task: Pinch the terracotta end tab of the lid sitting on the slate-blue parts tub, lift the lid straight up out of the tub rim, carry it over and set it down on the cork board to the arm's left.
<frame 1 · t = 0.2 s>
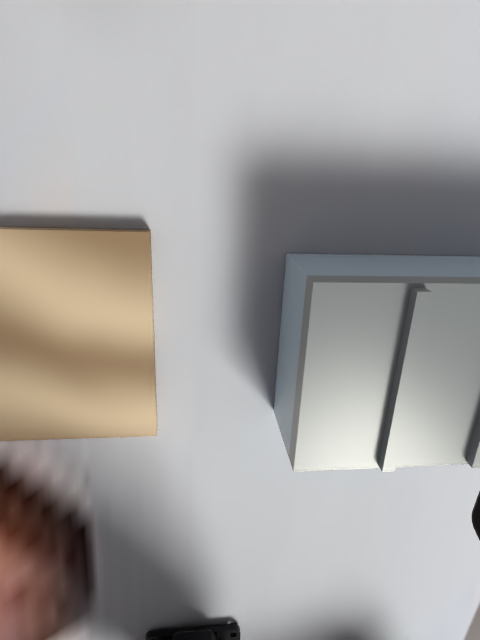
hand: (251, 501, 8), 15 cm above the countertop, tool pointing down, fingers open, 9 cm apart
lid: (424, 361, 21), point 3 cm above the countertop, touching tub
tub: (397, 336, 24), on the countertop
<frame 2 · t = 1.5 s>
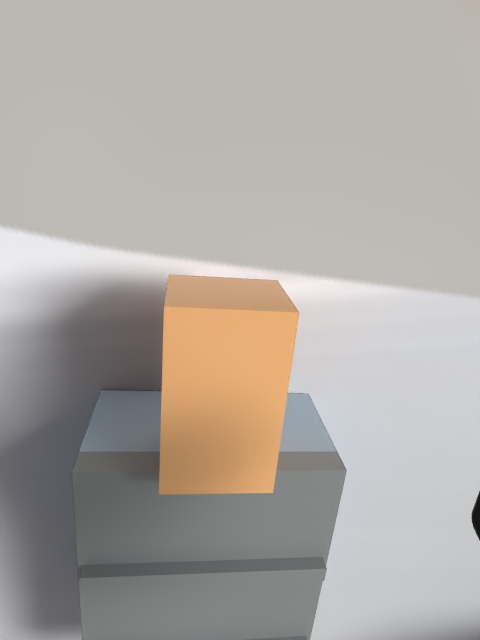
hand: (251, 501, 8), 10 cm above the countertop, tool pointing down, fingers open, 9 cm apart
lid: (202, 562, 18), point 3 cm above the countertop, touching tub
tub: (200, 508, 21), on the countertop
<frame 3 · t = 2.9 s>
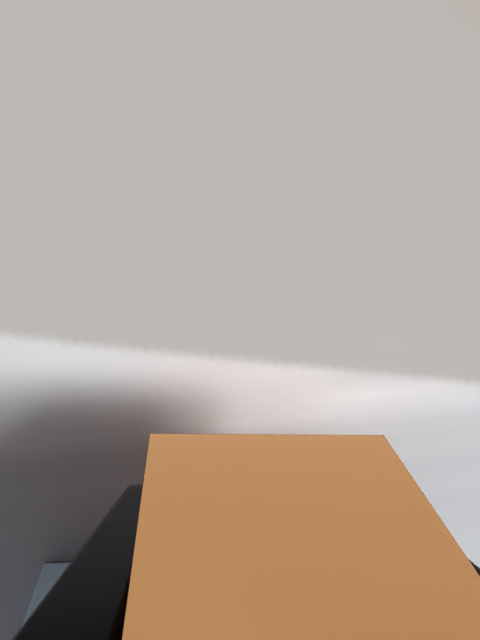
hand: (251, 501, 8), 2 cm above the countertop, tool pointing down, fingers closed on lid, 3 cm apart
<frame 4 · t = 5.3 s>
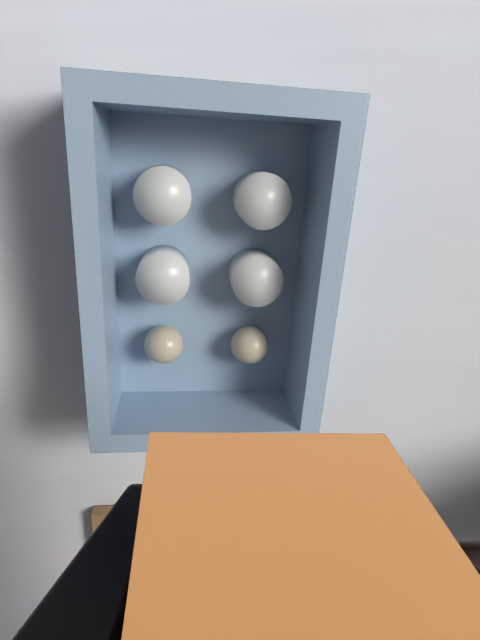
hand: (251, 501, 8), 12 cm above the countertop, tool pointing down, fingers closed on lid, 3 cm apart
tub: (207, 265, 19), on the countertop
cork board: (195, 599, 26), on the countertop
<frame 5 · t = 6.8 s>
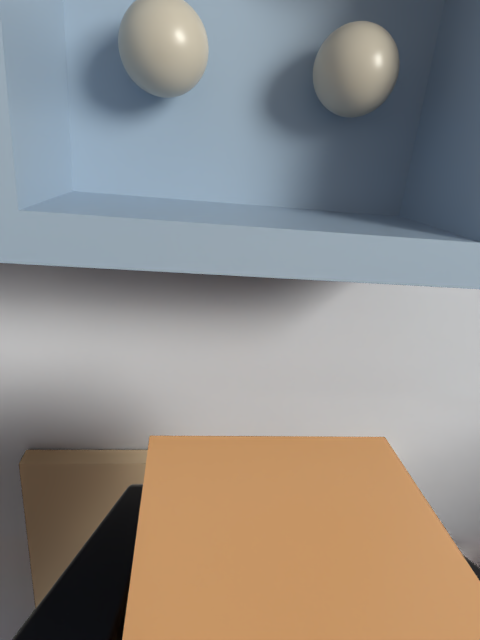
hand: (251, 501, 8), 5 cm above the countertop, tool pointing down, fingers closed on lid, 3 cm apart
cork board: (204, 620, 16), on the countertop
when the fingers open (1 cm above the countertop, at t = 7.8 s): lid drops 1 cm, resting on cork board.
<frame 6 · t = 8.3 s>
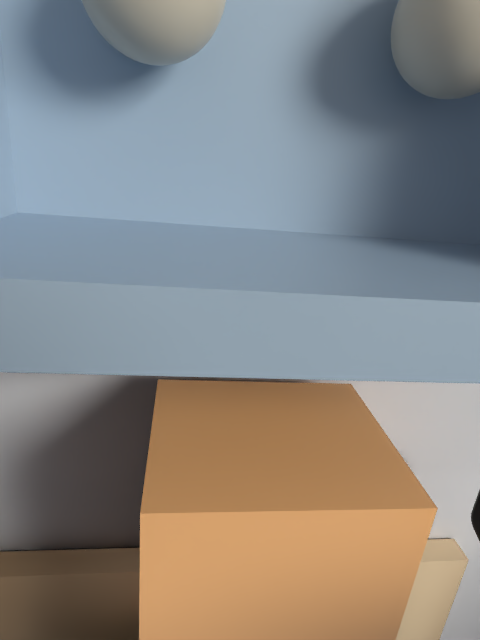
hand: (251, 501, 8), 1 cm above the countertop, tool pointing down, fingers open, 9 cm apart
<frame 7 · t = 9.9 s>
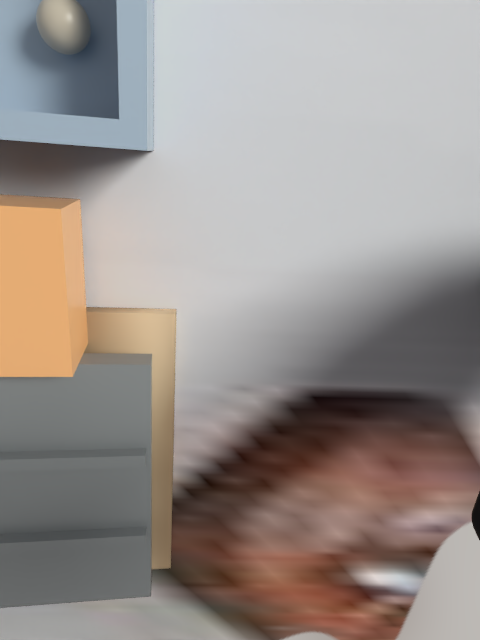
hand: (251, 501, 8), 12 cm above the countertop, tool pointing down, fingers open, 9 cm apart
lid: (56, 467, 21), point 1 cm above the countertop, touching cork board
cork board: (58, 452, 21), on the countertop
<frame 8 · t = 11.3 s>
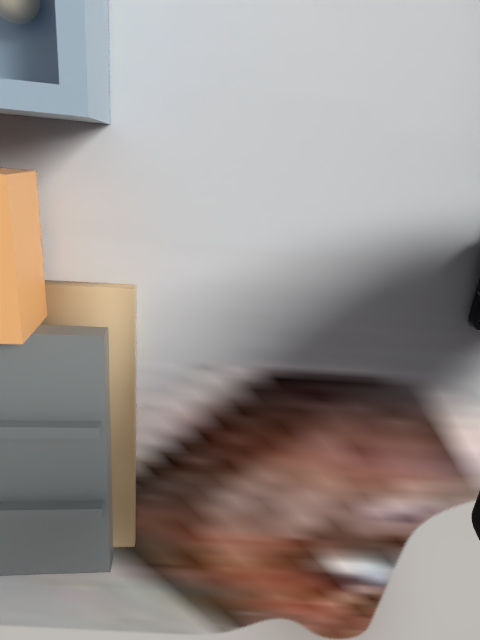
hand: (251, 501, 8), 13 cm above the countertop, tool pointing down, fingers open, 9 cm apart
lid: (18, 440, 21), point 1 cm above the countertop, touching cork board
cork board: (21, 425, 21), on the countertop
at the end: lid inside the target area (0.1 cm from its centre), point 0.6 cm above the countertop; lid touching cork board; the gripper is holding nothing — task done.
